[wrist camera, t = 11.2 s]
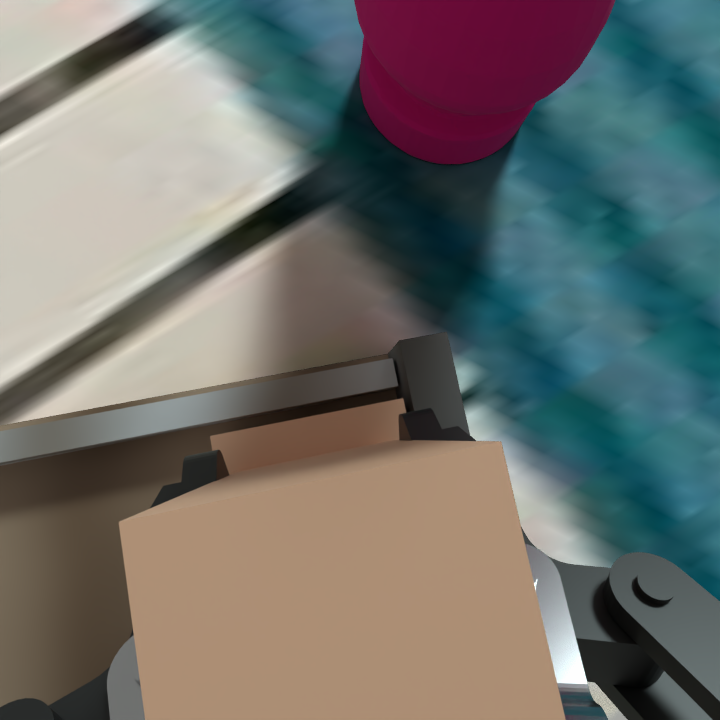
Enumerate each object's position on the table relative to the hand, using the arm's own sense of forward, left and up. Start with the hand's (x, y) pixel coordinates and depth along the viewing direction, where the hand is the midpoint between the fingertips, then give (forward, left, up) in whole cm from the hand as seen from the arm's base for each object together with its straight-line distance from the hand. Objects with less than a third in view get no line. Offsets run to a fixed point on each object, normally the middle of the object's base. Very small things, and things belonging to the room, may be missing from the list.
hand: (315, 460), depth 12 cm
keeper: (0, +2, -3) cm, 4 cm away
